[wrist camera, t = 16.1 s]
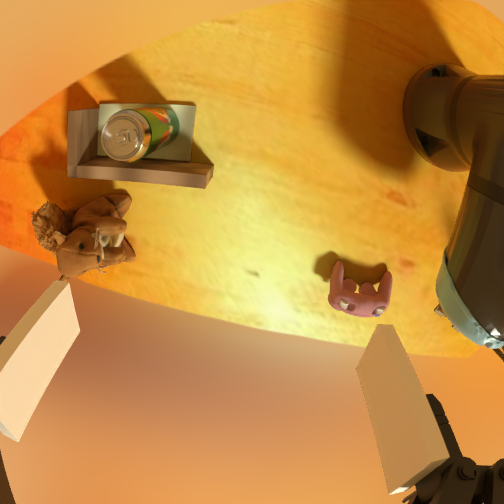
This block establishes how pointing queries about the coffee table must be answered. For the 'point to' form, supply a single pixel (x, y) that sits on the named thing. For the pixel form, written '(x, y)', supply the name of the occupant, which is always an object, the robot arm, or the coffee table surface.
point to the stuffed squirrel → (85, 234)
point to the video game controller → (358, 294)
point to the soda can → (138, 132)
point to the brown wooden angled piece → (143, 170)
